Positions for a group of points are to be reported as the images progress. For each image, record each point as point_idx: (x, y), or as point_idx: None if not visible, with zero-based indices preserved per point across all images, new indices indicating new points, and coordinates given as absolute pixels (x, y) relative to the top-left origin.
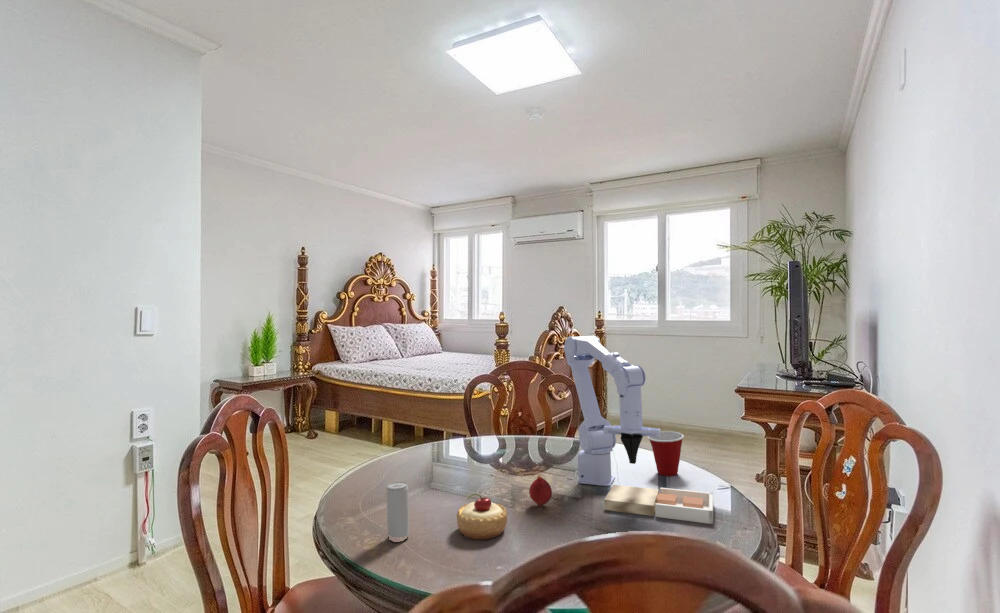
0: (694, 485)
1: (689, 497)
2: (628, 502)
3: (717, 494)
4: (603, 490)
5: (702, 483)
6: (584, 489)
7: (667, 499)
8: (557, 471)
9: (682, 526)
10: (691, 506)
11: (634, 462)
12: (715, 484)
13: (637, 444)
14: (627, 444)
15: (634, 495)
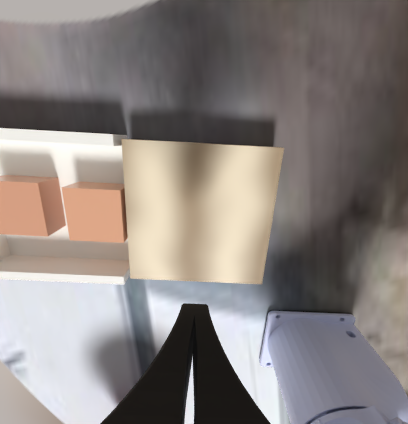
0: (75, 362)
1: (30, 231)
2: (203, 144)
3: (15, 324)
4: (283, 285)
5: (61, 376)
6: (334, 280)
7: (87, 196)
8: (404, 375)
9: (43, 81)
10: (19, 180)
11: (183, 306)
12: (34, 376)
13: (127, 407)
14: (219, 403)
15: (191, 212)
